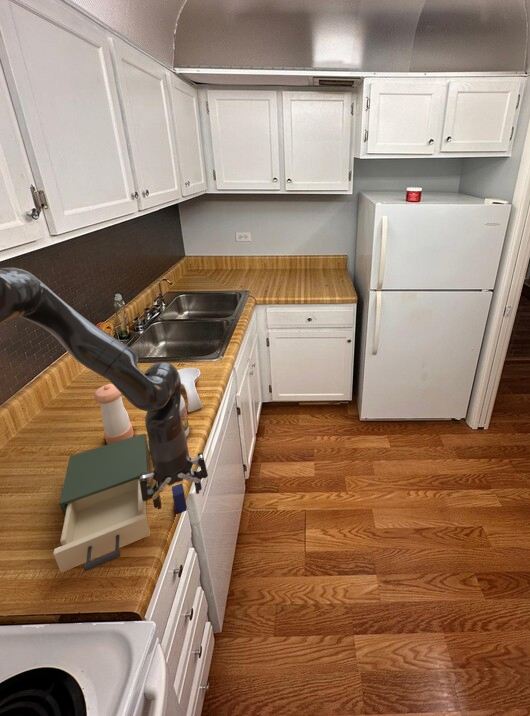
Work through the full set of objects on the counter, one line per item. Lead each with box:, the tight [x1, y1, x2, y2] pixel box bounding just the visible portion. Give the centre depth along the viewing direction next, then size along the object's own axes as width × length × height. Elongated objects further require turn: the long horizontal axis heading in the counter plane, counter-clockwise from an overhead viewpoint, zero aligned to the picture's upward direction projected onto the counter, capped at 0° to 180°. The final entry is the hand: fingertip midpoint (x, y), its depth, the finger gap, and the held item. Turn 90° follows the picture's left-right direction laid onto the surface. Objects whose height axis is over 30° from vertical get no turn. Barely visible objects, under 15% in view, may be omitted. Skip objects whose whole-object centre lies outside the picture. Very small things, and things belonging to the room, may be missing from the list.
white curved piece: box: [177, 366, 203, 413], centre depth 121 cm, size 24×12×7 cm, turn 32°
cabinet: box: [58, 432, 152, 518], centre depth 85 cm, size 15×18×8 cm
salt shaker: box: [94, 383, 135, 445], centre depth 98 cm, size 7×7×19 cm
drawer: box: [53, 478, 151, 574], centre depth 73 cm, size 18×16×6 cm
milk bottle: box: [180, 394, 190, 438], centre depth 99 cm, size 8×8×20 cm
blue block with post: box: [171, 482, 188, 515], centre depth 82 cm, size 2×7×6 cm, turn 27°
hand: (178, 498), depth 80 cm, fingers open, 8 cm apart
